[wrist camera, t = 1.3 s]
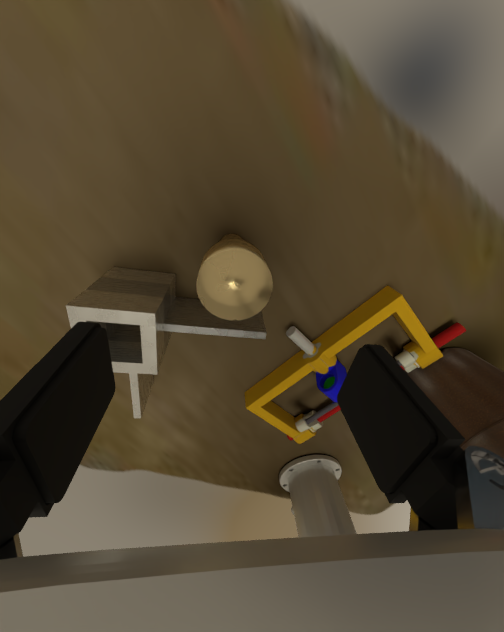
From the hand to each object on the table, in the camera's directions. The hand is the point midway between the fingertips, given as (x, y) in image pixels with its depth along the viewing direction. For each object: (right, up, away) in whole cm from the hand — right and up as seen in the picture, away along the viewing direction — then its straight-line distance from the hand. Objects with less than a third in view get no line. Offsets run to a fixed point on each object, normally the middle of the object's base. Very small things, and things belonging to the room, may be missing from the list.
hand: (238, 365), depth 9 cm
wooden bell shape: (-2, +9, +17) cm, 19 cm away
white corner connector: (-8, -1, +22) cm, 23 cm away
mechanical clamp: (+13, -4, +27) cm, 30 cm away
